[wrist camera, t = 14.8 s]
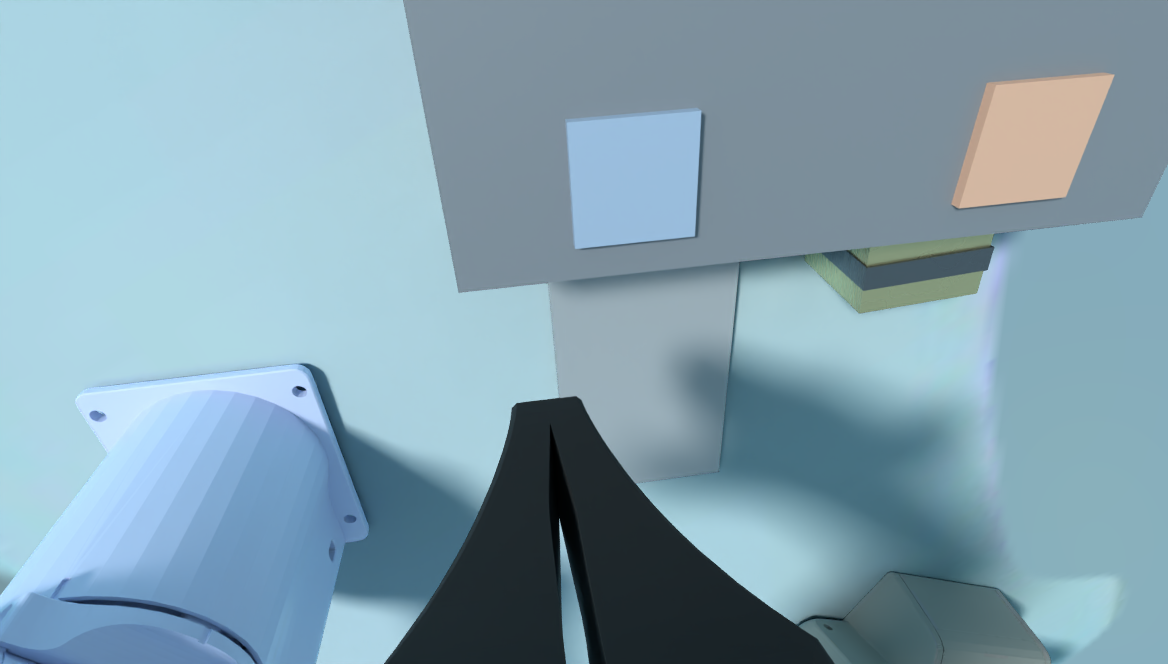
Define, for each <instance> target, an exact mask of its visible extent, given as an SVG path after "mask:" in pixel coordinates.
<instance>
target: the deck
mask: <svg viewBox="0 0 1168 664" xmlns="http://www.w3.org/2000/svg"><path fill="white" fill-rule="evenodd" d="M739 263H740V262H733V263H724V264H715V265H706V266H696V267H687V268H678V269H669V270H660V271H651V272H642V273H633V274H624V275H615V276H606V277H597V278H587V279H578V280H569V281H560V282H551V283H548V286H549V297H550V307H551V318H552V328H553V338H554V349H555V359H556V370H557V380H558V391H559V398H564V397H572V396H577V397H578V398H580V399H581V400H582V402H583V404H584V407H585V409H586V411H587V413H588V415H589V417H590V419H591V420H592V422H593V424H594V426H595V427H596V429H597V430H598V432H599V434H600V435H601V437H602V439H603V440H604V442H605V443H606V445H607V446H608V448H609V449H610V450H611V452H612V453H613V455H614V456H615V457H616V459H617V460H618V461H619V463H620V464H621V466H622V467H623V468H624V470H625V471H626V472H627V474H628V475H629V476H630V477H631V479H632V480H633V481H634V482H635V484H636V483H643V482H650V481H657V480H664V479H672V478H679V477H686V476H693V475H700V474H707V473H714V472H719V465H720V455H721V445H722V435H723V425H724V415H725V405H726V395H727V384H728V374H729V364H730V354H731V344H732V334H733V324H734V314H735V303H736V293H737V283H738V273H739Z"/></svg>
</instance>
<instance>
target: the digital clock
mask: <svg viewBox="0 0 1168 664" xmlns="http://www.w3.org/2000/svg"><path fill="white" fill-rule="evenodd" d="M799 627H800V628H802V629H803V630H805V631H806V632H808V633H809V634H811V635H812V636H814V637H816V638H817V639H818V640H819V642H820V643H821V644H822V646H823V647H824V649H825V650H826V652H827V653H828V655H829V656H830V657H831V659H832V660H833V662H834V663H835V664H1051V659H1050V657H1049V654H1048V652H1047V650H1046V649H1045V647H1044V646H1043V644H1042V643H1041V641H1040V640H1039V639H1038V638H1037V636H1036V635H1035V634H1034V633H1033V631H1032V630H1031V629H1030V628H1029V626H1028V625H1027V624H1026V623H1025V621H1024V620H1023V619H1022V618H1021V617H1020V615H1019V614H1018V613H1017V612H1016V610H1015V609H1014V608H1013V607H1012V605H1011V604H1010V603H1009V602H1008V600H1007V599H1006V598H1005V597H1004V596H1003V594H1002V593H1001V592H1000V591H999V590H998V589H995V588H989V587H983V586H976V585H970V584H964V583H957V582H951V581H945V580H939V579H932V578H926V577H920V576H913V575H907V574H901V573H894V572H889V573H887V574H886V575H885V576H884V577H883V578H882V579H881V580H880V581H879V582H878V583H877V584H876V585H875V587H874V588H873V589H872V590H871V591H870V592H869V593H868V594H867V595H866V596H865V597H864V598H863V599H862V600H861V601H860V602H859V603H858V604H857V605H856V606H855V608H854V609H853V610H852V611H851V612H850V613H849V614H848V615H847V616H846V617H845V618H844V619H843V620H842V621H839V620H830V619H812V620H808V621H806V622H804V623H802V624H801V625H799Z"/></svg>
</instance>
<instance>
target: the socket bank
mask: <svg viewBox="0 0 1168 664" xmlns="http://www.w3.org/2000/svg"><path fill="white" fill-rule="evenodd" d="M403 2H404V7H405V13H406V18H407V23H408V28H409V34H410V39H411V44H412V50H413V55H414V60H415V65H416V71H417V76H418V81H419V86H420V92H421V97H422V102H423V107H424V113H425V118H426V123H427V129H428V134H429V139H430V144H431V150H432V155H433V160H434V165H435V171H436V176H437V181H438V187H439V192H440V197H441V202H442V208H443V213H444V218H445V223H446V229H447V234H448V239H449V244H450V250H451V255H452V260H453V266H454V271H455V276H456V281H457V287H458V292H459V293H460V292H469V291H478V290H487V289H497V288H506V287H515V286H524V285H533V284H542V283H551V282H560V281H569V280H578V279H587V278H597V277H606V276H615V275H624V274H633V273H642V272H651V271H660V270H669V269H678V268H687V267H696V266H706V265H715V264H724V263H733V262H742V261H751V260H760V259H769V258H778V257H787V256H796V255H806V254H815V253H824V252H833V251H842V250H851V249H860V248H869V247H878V246H887V245H896V244H906V243H915V242H924V241H933V240H942V239H951V238H960V237H969V236H978V235H987V234H996V233H1005V232H1015V231H1024V230H1033V229H1041V228H1050V227H1059V226H1068V225H1078V224H1086V223H1096V222H1105V221H1113V220H1114V221H1115V220H1123V219H1133V218H1141V217H1142V216H1143V214H1144V212H1145V210H1146V208H1147V205H1148V204H1149V201H1150V199H1151V197H1152V195H1153V193H1154V191H1155V189H1156V187H1157V185H1158V183H1159V181H1160V179H1161V177H1162V175H1163V172H1164V170H1165V168H1166V166H1167V164H1168V0H403Z"/></svg>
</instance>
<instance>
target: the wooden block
mask: <svg viewBox="0 0 1168 664" xmlns="http://www.w3.org/2000/svg"><path fill="white" fill-rule="evenodd" d="M993 235H994V234H987V235H978V236H969V237H960V238H951V239H942V240H933V241H924V242H915V243H906V244H896V245H887V246H878V247H869V248H860V249H851V250H842V251H833V252H824V253H815V254H806V255H805V261H806V262H807V263H808V264H809V265H810V266H811V267H812V268H813V269H814V270H815V271H816V272H817V273H818V274H819V275H820V276H821V277H822V278H823V279H824V280H825V281H826V282H827V283H828V284H829V285H830V286H831V287H833V288H834V289H835V290H836V291H837V292H838V293H839V294H840V295H841V296H842V297H843V298H844V299H845V300H846V301H847V302H848V303H849V304H850V305H851V306H852V307H853V308H854V309H855V310H856V311H857V312H858V313H865V312H871V311H877V310H883V309H888V308H894V307H900V306H906V305H912V304H918V303H924V302H929V301H935V300H941V299H947V298H953V297H959V296H964V295H970V294H976V293H977V291H978V288H979V284H980V281H981V277H982V274H983V271H985V270H988V267H989V263H990V260H991V256H992V253H993V250H994V247H993V246H991V242H992V239H993Z"/></svg>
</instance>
